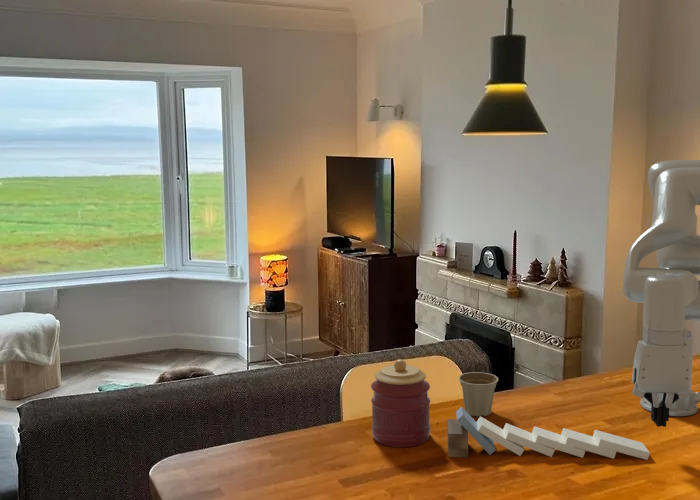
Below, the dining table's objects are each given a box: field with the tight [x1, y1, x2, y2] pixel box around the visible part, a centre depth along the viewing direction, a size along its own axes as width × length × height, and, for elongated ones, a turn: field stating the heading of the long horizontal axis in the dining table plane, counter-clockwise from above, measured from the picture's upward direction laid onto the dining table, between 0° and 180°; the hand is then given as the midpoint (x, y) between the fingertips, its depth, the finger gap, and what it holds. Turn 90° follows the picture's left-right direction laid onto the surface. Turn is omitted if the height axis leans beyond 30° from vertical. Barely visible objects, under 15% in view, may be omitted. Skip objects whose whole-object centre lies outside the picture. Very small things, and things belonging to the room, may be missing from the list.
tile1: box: [592, 429, 651, 461], centre depth 142 cm, size 2×5×10 cm
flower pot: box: [458, 371, 499, 417], centre depth 167 cm, size 9×9×9 cm
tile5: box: [476, 416, 525, 457], centre depth 145 cm, size 2×5×10 cm
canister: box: [370, 358, 431, 448], centre depth 152 cm, size 13×13×18 cm
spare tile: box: [455, 406, 496, 456], centre depth 145 cm, size 2×5×10 cm
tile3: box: [531, 426, 586, 458], centre depth 144 cm, size 2×5×10 cm
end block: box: [447, 418, 469, 458], centre depth 146 cm, size 4×8×5 cm, turn 173°
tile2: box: [560, 427, 617, 460], centre depth 143 cm, size 2×5×10 cm
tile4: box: [502, 422, 556, 458], centre depth 144 cm, size 2×5×10 cm
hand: (659, 424), depth 141 cm, fingers closed
